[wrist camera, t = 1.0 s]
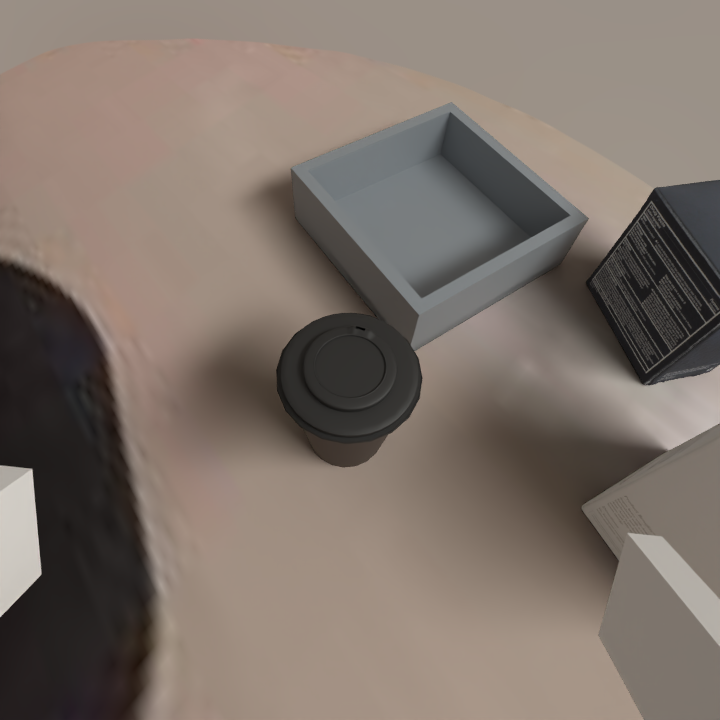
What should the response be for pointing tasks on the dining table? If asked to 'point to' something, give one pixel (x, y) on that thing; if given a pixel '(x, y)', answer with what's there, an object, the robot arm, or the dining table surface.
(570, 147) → the dining table surface
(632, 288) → the small box
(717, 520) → the supplement box
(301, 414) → the coffee cup
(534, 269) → the bin
